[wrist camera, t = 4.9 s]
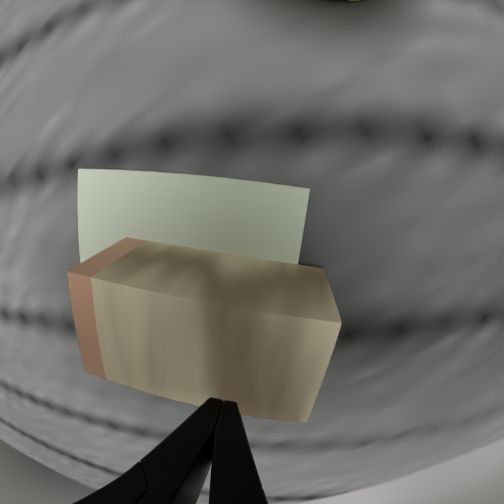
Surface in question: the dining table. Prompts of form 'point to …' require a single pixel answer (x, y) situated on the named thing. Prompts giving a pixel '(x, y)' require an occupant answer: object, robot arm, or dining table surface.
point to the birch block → (206, 326)
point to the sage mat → (190, 213)
